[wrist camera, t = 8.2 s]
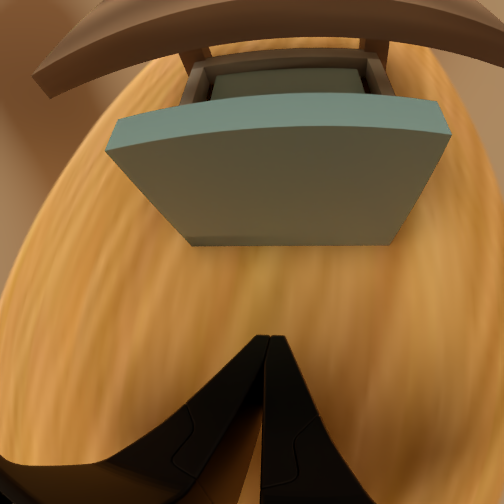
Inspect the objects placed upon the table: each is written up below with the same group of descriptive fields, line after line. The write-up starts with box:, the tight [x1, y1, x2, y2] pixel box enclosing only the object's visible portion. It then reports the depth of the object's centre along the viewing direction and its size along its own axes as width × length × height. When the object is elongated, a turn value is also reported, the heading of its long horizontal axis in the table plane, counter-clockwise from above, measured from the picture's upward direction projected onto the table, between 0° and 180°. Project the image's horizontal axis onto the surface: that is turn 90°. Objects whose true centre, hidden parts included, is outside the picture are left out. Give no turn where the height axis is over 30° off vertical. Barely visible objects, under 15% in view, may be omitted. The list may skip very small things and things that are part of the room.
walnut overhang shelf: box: [31, 0, 504, 106], centre depth 14 cm, size 16×17×12 cm
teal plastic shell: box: [105, 68, 452, 246], centre depth 14 cm, size 14×11×9 cm
